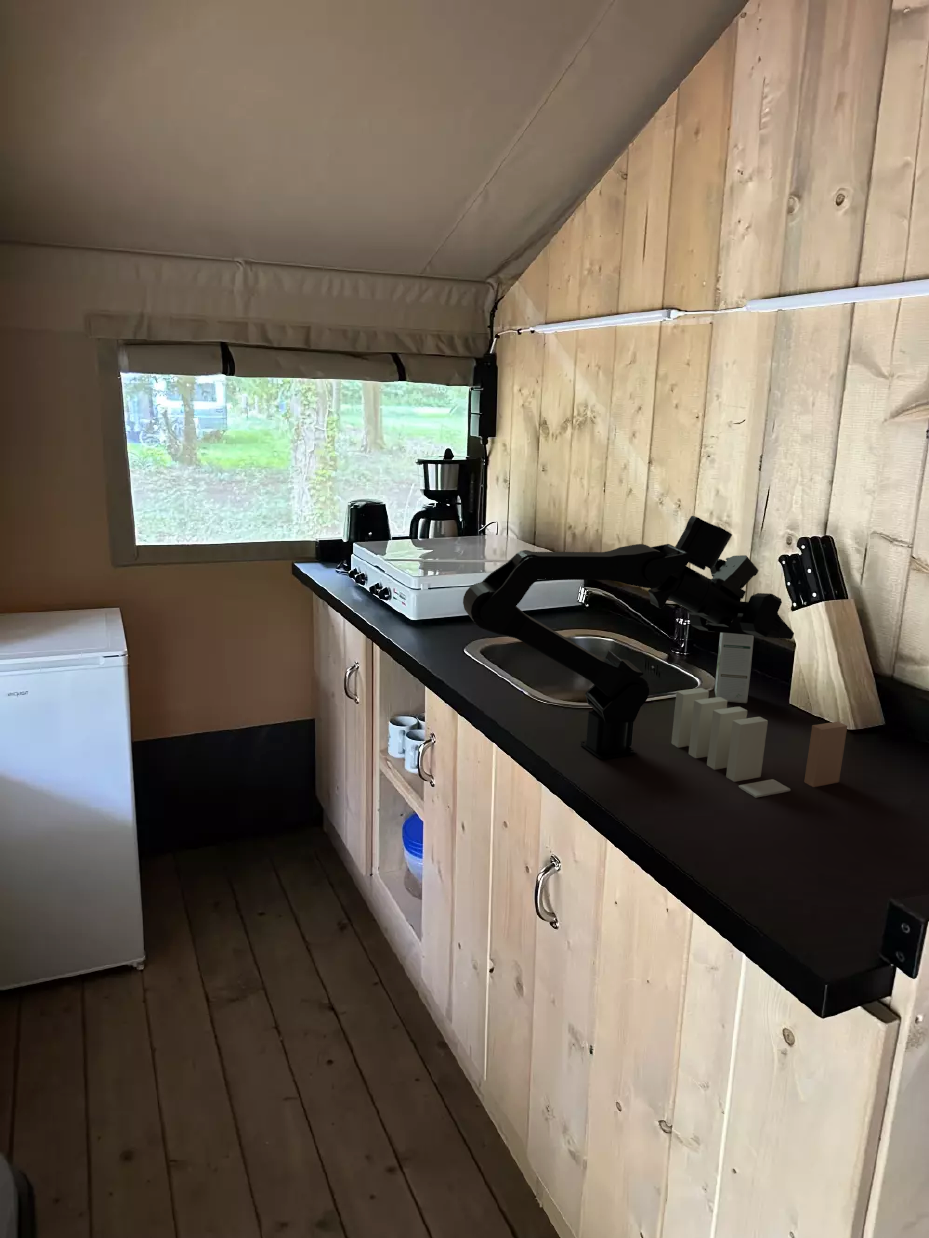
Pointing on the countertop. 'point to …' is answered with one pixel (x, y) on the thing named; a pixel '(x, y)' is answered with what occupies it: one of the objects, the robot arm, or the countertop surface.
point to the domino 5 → (825, 754)
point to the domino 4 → (746, 748)
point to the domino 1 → (685, 715)
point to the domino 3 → (722, 735)
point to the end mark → (764, 788)
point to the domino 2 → (703, 725)
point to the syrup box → (734, 667)
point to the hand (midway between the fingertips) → (773, 634)
